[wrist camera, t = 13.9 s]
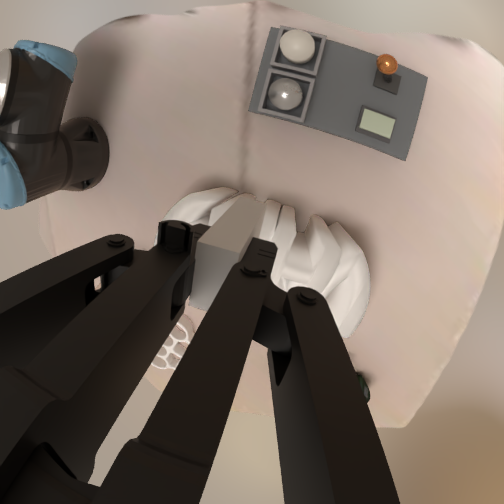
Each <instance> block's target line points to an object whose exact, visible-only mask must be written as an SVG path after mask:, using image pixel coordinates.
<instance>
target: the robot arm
mask: <svg viewBox="0 0 504 504" xmlns="http://www.w3.org/2000/svg"><path fill="white" fill-rule="evenodd" d="M76 65H77V57H76V55H75V54H74V53H72V52H70V51H68V50H66V49H63V48H60V47H57V46H53V45H49V44H45V43H39V42H34V41H29V40H20V41H18V42H17V43H16V45H15V46H14V49H3V50H2V51H1V52H0V208H1V209H5V210H7V209H11V208H15V207H18V206H22V205H24V204H26V203H28V202H30V201H33V200H35V199H37V198H40V197H42V196H45V195H48V194H50V193H53V192H55V191H58V190H68V191H83V190H86V189H89V188H92V187H94V186H95V185H96V184H98V183H99V181H100V180H101V179H102V177H103V176H104V174H105V171H106V169H107V165H108V159H109V147H108V141H107V138H106V135H105V132H104V131H103V129H102V127H101V126H100V125H99V124H98V123H97V122H96V121H95V120H93V119H91V118H87V117H81V118H74V119H71V120H68V121H67V122H65V123H63V124H61V120H62V116H63V112H64V108H65V104H66V100H67V97H68V93H69V90H70V86H71V83H73V80H74V79H73V76H74V72H75V69H76ZM266 207H267V203H263V202H259V201H256V200H252V199H248V198H244V197H239V198H238V199H237V200H236V201H235V202H234V204H233V205H232V206H231V207H230V208H229V209H228V210H227V211H226V212H225V213H224V214H223V215H222V216H221V217H220V218H219V219H218V220H217V221H216V222H215V223H214V224H213V225H212V226H208V225H204V224H201V223H199V224H196V225H191V224H189V223H186V222H184V221H179V220H165V221H161V222H159V226H158V237H157V244H156V245H155V246H154V247H153V248H151V249H150V250H149V251H144V250H136V249H134V241H133V239H132V238H130V237H128V236H125V235H123V234H121V235H120V234H114V235H108V236H105V237H102V238H100V239H97V240H95V241H92V242H90V243H87V244H85V245H82V246H80V247H78V248H75V249H73V250H71V251H68V252H66V253H64V254H61V255H59V256H57V257H54V258H52V259H50V260H48V261H46V262H43V263H41V264H39V265H37V266H34V267H32V268H30V269H28V270H26V271H24V272H21V273H20V274H17V275H15V276H13V277H11V278H9V279H7V280H5V281H3V282H1V283H0V504H199V502H200V499H201V497H202V493H203V490H204V488H205V485H206V482H207V479H208V476H209V473H210V470H211V467H212V464H213V461H214V458H215V455H216V452H217V449H218V446H219V443H220V440H221V437H222V434H223V431H224V428H225V425H226V421H227V419H228V415H229V412H230V409H231V406H232V403H233V400H234V397H235V393H236V390H237V387H238V384H239V381H240V377H241V374H242V371H243V368H244V364H245V361H246V358H247V355H248V351H249V348H250V345H251V341H252V340H254V341H256V342H258V343H260V344H261V345H263V346H265V347H267V348H268V352H267V357H268V365H269V373H270V382H271V390H272V399H273V407H274V416H275V423H276V433H277V442H278V449H279V459H280V467H281V475H282V484H283V493H284V502H285V504H400V502H399V498H398V494H397V491H396V488H395V485H394V482H393V478H392V475H391V472H390V469H389V466H388V463H387V460H386V456H385V453H384V451H383V447H382V445H381V442H380V439H379V436H378V433H377V430H376V427H375V424H374V421H373V419H372V416H371V413H370V410H369V407H368V405H367V402H366V399H365V396H364V394H363V391H362V388H361V386H360V383H359V380H358V378H357V375H356V373H355V370H354V367H353V365H352V362H351V360H350V357H349V355H348V352H347V349H346V347H345V344H344V342H343V339H342V337H341V334H340V332H339V330H338V327H337V325H336V322H335V320H334V317H333V315H332V313H331V310H330V308H329V305H328V303H327V301H326V299H325V298H324V296H323V295H322V294H320V293H319V292H318V291H316V290H313V289H312V288H309V287H304V286H296V287H292V288H290V289H289V290H288V292H286V291H284V290H282V289H280V288H279V287H277V286H276V285H275V284H274V283H273V282H272V280H271V273H272V269H273V265H274V262H275V258H276V254H277V251H278V248H277V246H276V244H275V243H273V242H270V241H266V240H263V239H259V236H260V232H261V228H262V224H263V220H264V215H265V211H266ZM99 276H100V279H101V288H100V289H97V290H95V287H94V279H95V278H97V277H99ZM189 295H190V298H189V306H192V307H195V308H198V309H201V310H204V311H207V313H206V315H205V316H204V318H203V320H202V322H201V324H200V325H199V327H198V329H197V331H196V333H195V335H194V336H193V338H192V340H191V342H190V344H189V345H188V347H187V349H186V351H185V353H184V355H183V356H182V358H181V360H180V362H179V364H178V365H177V367H176V369H175V371H174V373H173V375H172V376H171V378H170V380H169V382H168V384H167V386H166V387H165V389H164V391H163V393H162V395H161V397H160V399H159V400H158V402H157V404H156V406H155V408H154V410H153V411H152V413H151V415H150V417H149V419H148V421H147V423H146V425H145V426H144V428H143V430H142V432H141V433H140V435H139V436H138V437H137V438H134V439H130V440H129V441H128V442H127V443H126V444H125V445H124V446H123V448H122V449H121V451H120V452H119V454H118V456H117V457H116V459H115V461H114V463H113V465H112V466H111V468H110V470H109V472H108V474H107V476H106V477H105V479H104V481H103V483H102V485H101V486H100V487H98V486H95V485H92V484H88V481H89V479H90V477H91V475H92V473H93V469H94V464H95V456H96V453H97V451H98V449H99V448H100V446H101V444H102V443H103V441H104V439H105V438H106V436H107V434H108V432H109V431H110V429H111V427H112V426H113V424H114V423H115V421H116V419H117V418H118V416H119V414H120V413H121V411H122V409H123V408H124V406H125V405H126V403H127V401H128V400H129V398H130V396H131V395H132V393H133V391H134V390H135V388H136V386H137V385H138V384H139V382H140V380H141V379H142V377H143V376H144V374H145V372H146V371H147V369H148V368H149V366H150V364H151V363H152V361H153V360H154V358H155V356H156V355H157V353H158V352H159V350H160V349H161V347H162V345H163V344H164V342H165V341H166V339H167V338H168V336H169V335H170V333H171V331H172V330H173V328H174V327H175V325H176V324H177V322H178V321H179V319H180V317H181V316H182V314H183V313H184V309H185V301H186V299H187V298H188V296H189Z"/></svg>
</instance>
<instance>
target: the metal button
mask: <svg viewBox="0 0 504 504" xmlns="http://www.w3.org/2000/svg"><path fill="white" fill-rule="evenodd" d="M268 95H269V99H270V101H271V102H272V104H273V105H274V106H276V107H277V108H279V109H281V110H284V111H292V110H294V109H296V108H298V107H299V106H300V105H301V103H302V100H303V93H302V90H301V87H300V85H299V84H298V83H297V82H296V81H294V80H292V79H289V78H281V79H278V80H276V81H274V82H273V83H272V84H271V86H270V88H269V92H268Z"/></svg>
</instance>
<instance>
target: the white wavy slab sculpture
mask: <svg viewBox="0 0 504 504" xmlns="http://www.w3.org/2000/svg"><path fill="white" fill-rule="evenodd" d="M238 192H239V191H236V190H234V189H231V188H227V187H219V188H214V189H210V190H205V191H200V192H196V193H191V194H189V195H187V196H185V197H184V198H182V199H181V200H180V201H178V202H177V203H176V204H175V205H174V206H173V207H172V208H171V209H170V210H169V211H168V213H167V214H166V215H165V217H164V218H163V220H162V221H165V220H179V221H184V222H186V223H189V224H191V225H196V224H199V223H201V224H204V225H208V226H212V225H213V224H214V223H215V222H216V221H217V220H218V219H219V218H220V217H221V216H222V215H223V214H224V213H225V212H226V211H227V210H228V209H229V208H230V207H231V206H232V205H233V204H234V202H235V201H236V200H237V199H238V198H239V197H244V198H248V199H252V200H256V197H255V196H254V195H252V194H248V193H243V194H240V195H238V196H236V197H234V198H232V199H230V200H228V201H226V202H224V201H225V200H227V199H228V198H229V197H231V196H232V195H234V194H236V193H238ZM223 202H224V203H223ZM265 203H267V207H266V211H265V215H264V220H263V224H262V228H261V232H260V236H259V239H263V240H266V241H270V242H273V243H275V244H276V246H277V248H278V251H277V254H276V258H275V262H274V265H273V269H272V273H271V280H272V282H273V283H274V284H275V285H276V286H277V287H279V288H280V289H282V290H284V291H286V292H288V290H289V289H290V288H292V287H296V286H304V287H309V288H312V289H313V290H316V291H318V292H319V293H320V294H322V295H323V296H324V298H325V299H326V301H327V303H328V305H329V308H330V310H331V313H332V315H333V317H334V320H335V322H336V325H337V327H338V330H339V332H340V334H341V337H345V338H349V337H350V336H351V335H352V334H353V333H354V331H355V330H356V329H357V327H358V326H359V324H360V322H361V321H362V319H363V317H364V314H365V312H366V309H367V306H368V302H369V297H370V274H369V268H368V264H367V261H366V258H365V256H364V253H363V251H362V249H361V248H360V247H359V246H358V244H357V243H356V242H355V241H354V240H353V239H352V238H351V236H350V235H349V234H348V233H347V232H346V231H345V230H344V229H343V227H342V226H341V225H340V224H339V223H338V222H335V223H333V224H331V225H329V226H328V227H327V225H326V223H325V222H324V220H323V219H322V218H321V217H320V216H318V215H310V220H309V223H308V226H307V228H306V230H305V232H304V233H300V232H296V221H295V209H294V208H292V207H290V206H286V205H283V206H282V208H281V210H280V207H281V204H280V203H278V202H276V201H273V200H268V199H267V201H266V202H265ZM279 211H280V212H279ZM157 237H158V231H157V234H156V237H155V242H154V246H155V245H156V244H157Z"/></svg>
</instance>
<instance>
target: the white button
mask: <svg viewBox="0 0 504 504" xmlns="http://www.w3.org/2000/svg"><path fill="white" fill-rule="evenodd" d="M280 48H281V51H282V53H283V55H284V57H285V58H286V59H287V60H288V61H290V62H292V63H295V64H304V63H306V62H308V61H310V60H311V59H312V58H313V56H314V53H315V43H314V40H313V38H312V36H311V35H310V34H309V33H307V32H306V31H303V30H299V29H294V30H290V31H288V32H286V33H285V34H284V35H283V36H282V37H281V39H280Z"/></svg>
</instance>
